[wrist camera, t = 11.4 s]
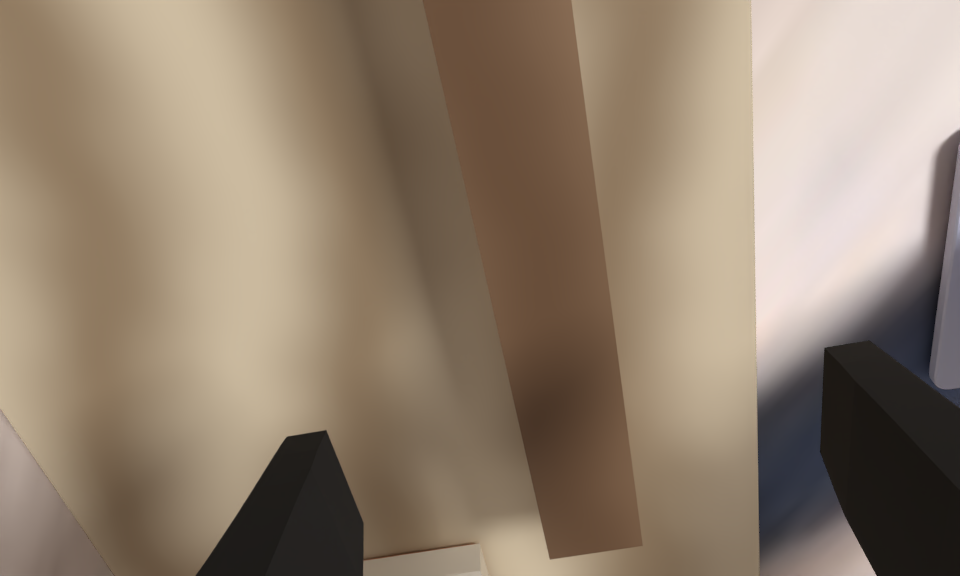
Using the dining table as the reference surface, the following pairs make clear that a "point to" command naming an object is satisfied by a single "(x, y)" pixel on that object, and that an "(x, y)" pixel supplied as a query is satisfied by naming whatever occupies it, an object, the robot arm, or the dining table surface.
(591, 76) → the board
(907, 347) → the dining table surface
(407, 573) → the tile
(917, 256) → the dining table surface
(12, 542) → the dining table surface
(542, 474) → the brown wooden bar
